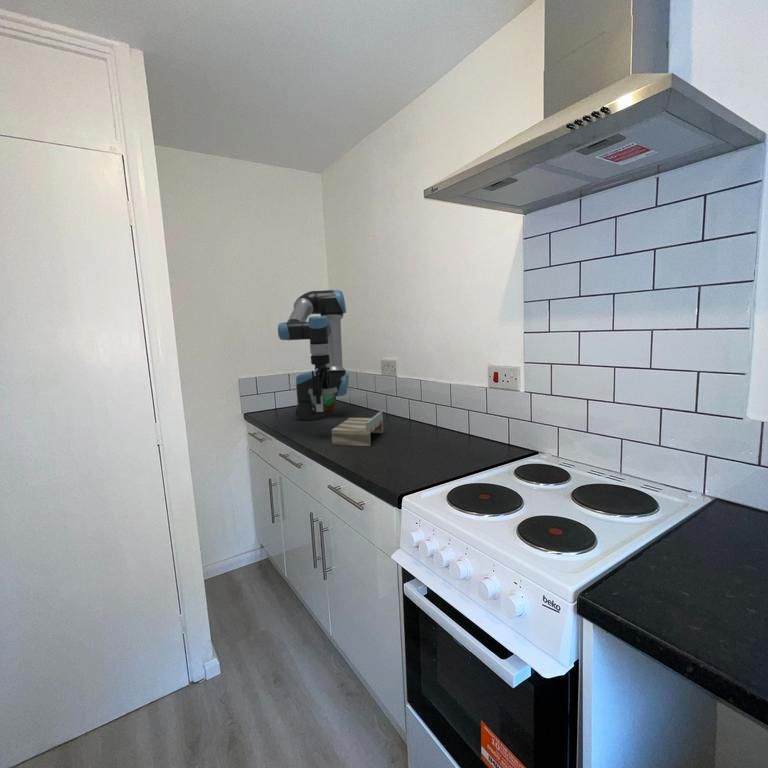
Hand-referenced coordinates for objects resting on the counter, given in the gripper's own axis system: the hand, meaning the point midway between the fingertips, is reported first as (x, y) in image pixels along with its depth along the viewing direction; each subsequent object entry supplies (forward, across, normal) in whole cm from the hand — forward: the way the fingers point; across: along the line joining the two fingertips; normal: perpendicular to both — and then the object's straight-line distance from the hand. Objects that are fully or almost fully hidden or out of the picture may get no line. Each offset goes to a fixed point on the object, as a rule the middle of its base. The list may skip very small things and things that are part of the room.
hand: (323, 409), depth 174 cm
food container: (+1, 0, 0) cm, 1 cm away
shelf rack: (+12, -1, -15) cm, 19 cm away
